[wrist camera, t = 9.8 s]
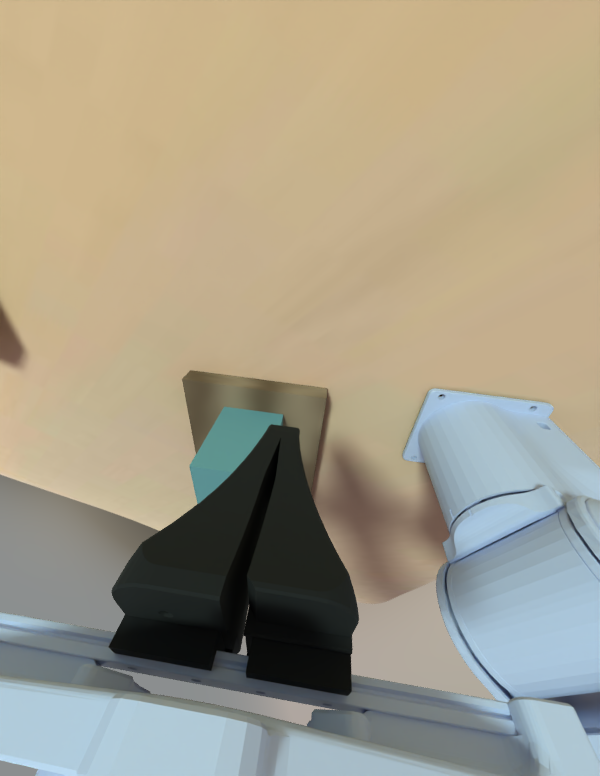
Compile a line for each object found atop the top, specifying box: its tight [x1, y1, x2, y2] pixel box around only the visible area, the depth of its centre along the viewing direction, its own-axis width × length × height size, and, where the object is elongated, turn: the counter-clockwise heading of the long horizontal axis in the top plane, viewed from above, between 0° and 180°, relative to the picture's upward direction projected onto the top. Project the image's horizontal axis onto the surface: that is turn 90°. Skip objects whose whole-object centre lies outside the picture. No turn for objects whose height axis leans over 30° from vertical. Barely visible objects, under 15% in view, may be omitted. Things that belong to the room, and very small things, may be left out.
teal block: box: [190, 407, 283, 504], centre depth 22 cm, size 5×5×7 cm
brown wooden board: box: [182, 371, 327, 492], centre depth 29 cm, size 12×23×2 cm, turn 175°
